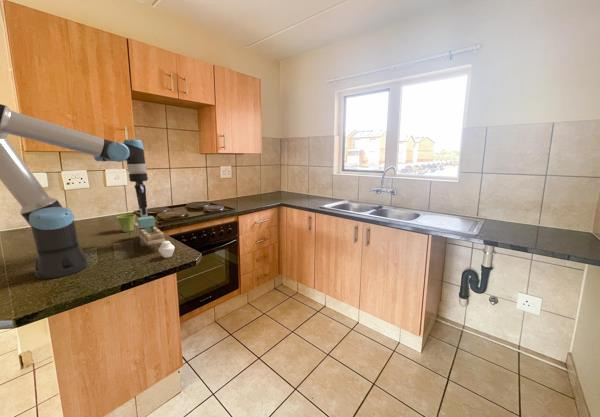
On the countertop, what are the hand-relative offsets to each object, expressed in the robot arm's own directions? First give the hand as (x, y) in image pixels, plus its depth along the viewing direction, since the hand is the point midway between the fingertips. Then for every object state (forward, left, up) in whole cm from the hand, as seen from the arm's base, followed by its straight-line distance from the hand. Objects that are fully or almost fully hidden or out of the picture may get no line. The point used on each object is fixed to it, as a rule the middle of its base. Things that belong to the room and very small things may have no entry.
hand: (144, 220), depth 131 cm
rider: (-4, -2, -5) cm, 6 cm away
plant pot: (+22, +19, -11) cm, 31 cm away
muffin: (-23, -18, -11) cm, 31 cm away
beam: (-4, -3, -11) cm, 12 cm away
